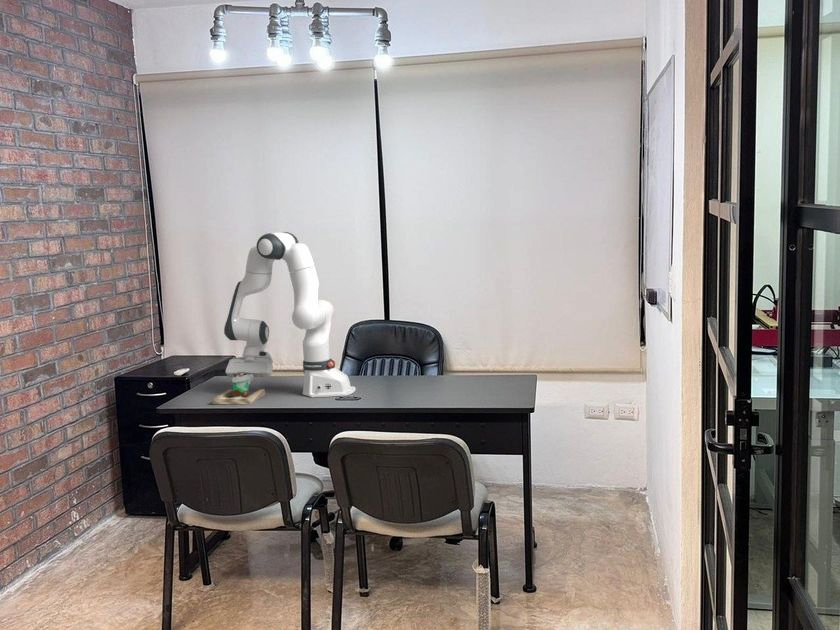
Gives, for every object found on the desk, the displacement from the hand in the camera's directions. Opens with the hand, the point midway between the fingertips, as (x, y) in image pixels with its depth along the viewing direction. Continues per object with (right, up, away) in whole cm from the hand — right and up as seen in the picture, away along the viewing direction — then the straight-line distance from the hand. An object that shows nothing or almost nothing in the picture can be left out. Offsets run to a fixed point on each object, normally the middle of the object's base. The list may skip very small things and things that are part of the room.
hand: (245, 384), depth 347 cm
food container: (0, -5, -3) cm, 6 cm away
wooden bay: (-1, -6, -6) cm, 9 cm away
